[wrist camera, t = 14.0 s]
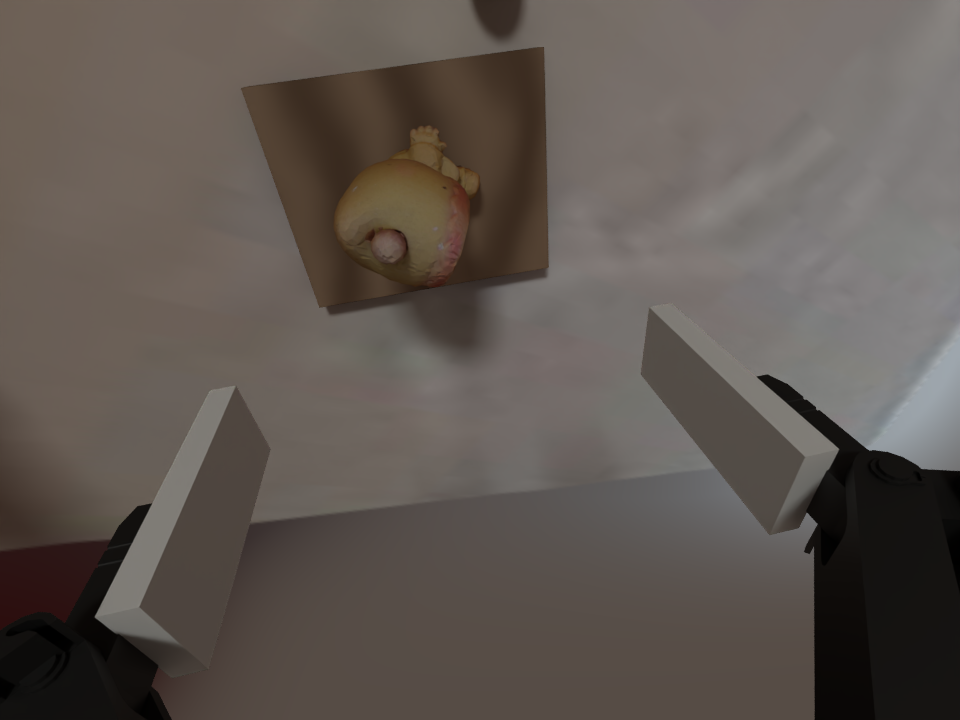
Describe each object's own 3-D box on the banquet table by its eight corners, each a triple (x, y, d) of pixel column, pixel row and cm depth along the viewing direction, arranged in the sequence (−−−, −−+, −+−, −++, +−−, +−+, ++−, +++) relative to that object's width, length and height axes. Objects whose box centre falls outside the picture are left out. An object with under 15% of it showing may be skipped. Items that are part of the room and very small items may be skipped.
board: (321, 299, 39) (319, 307, 38) (246, 86, 30) (240, 88, 29) (543, 261, 41) (548, 267, 40) (537, 47, 31) (543, 47, 30)
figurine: (453, 270, 38) (425, 354, 25) (368, 238, 37) (293, 308, 24) (496, 149, 33) (489, 177, 20) (400, 108, 32) (327, 110, 19)
